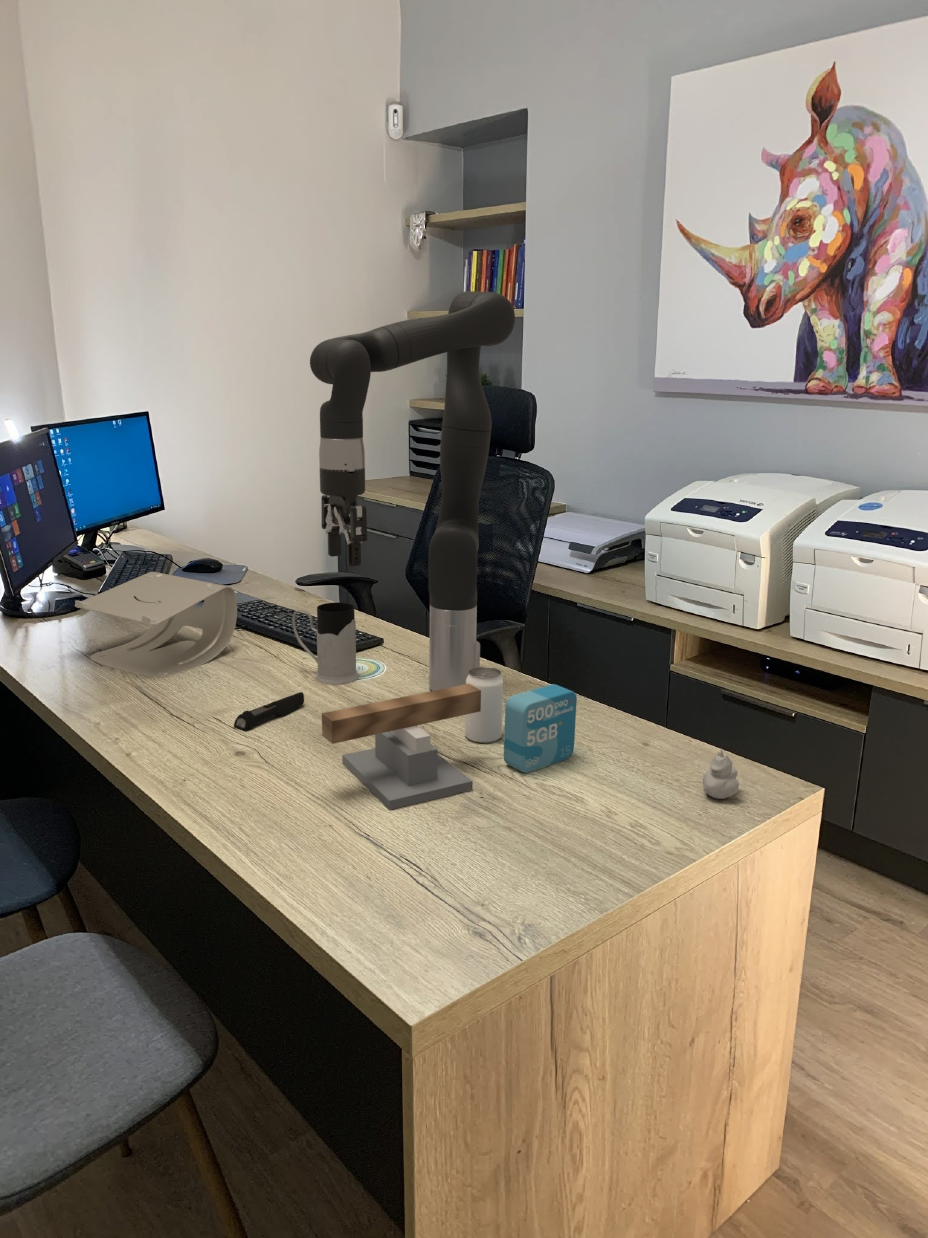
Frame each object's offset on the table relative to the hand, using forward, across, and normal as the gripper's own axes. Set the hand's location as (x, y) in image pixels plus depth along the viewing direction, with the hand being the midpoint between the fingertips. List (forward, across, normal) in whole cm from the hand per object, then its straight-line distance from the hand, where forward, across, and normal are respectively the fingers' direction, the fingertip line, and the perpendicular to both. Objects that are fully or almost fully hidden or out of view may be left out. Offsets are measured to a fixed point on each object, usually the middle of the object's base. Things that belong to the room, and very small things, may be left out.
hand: (344, 560), depth 157 cm
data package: (+30, +29, +22) cm, 47 cm away
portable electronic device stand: (+30, -55, -21) cm, 66 cm away
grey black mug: (+30, -26, +6) cm, 40 cm away
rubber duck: (+30, +52, +40) cm, 72 cm away
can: (+30, +16, +19) cm, 39 cm away
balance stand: (+30, +24, 0) cm, 38 cm away
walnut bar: (+21, +24, 0) cm, 32 cm away
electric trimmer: (+31, -10, -11) cm, 34 cm away
